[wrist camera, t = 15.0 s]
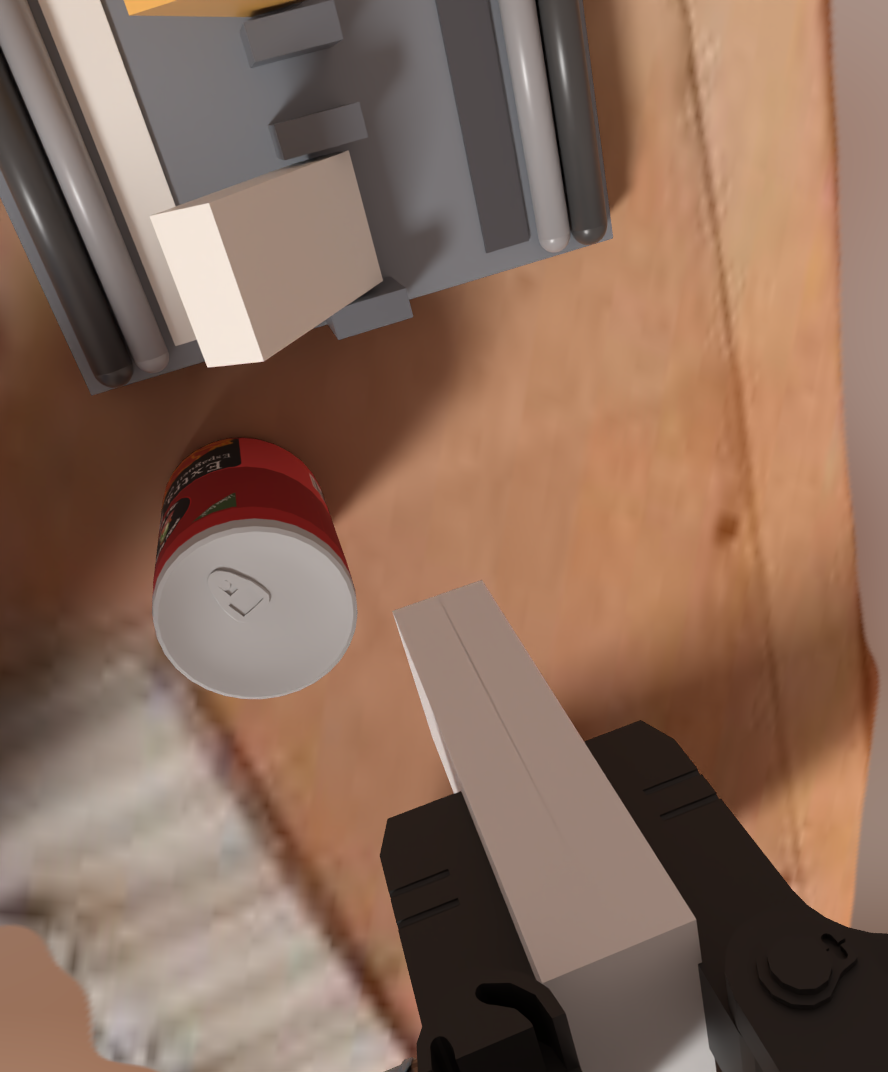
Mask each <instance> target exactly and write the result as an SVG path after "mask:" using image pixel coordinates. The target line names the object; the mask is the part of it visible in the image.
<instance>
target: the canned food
mask: <svg viewBox="0 0 888 1072" xmlns="http://www.w3.org/2000/svg"><path fill="white" fill-rule="evenodd" d="M152 615H153V622H154V626H155V631H156V635H157V639H158V641H159V643H160V645H161V647H162V649H163V651H164V653H165V655H166V656H167V657H168V659H169V660H170V661H171V662H172V664H173V665H174V666H175V668H176V669H178V670H179V671H180V672H181V673H182V674H183V675H185V676H186V677H187V678H188V679H189V680H191V681H193V682H194V683H196V684H198V685H200V686H202V687H203V688H205V689H207V690H210V691H213V692H216V693H218V694H221V695H224V696H230V697H236V698H241V699H266V698H273V697H280V696H283V695H287V694H290V693H293V692H296V691H299V690H301V689H303V688H305V687H307V686H309V685H311V684H313V683H315V682H316V681H318V680H319V679H320V678H322V677H323V676H324V675H326V674H327V673H328V672H330V670H331V669H332V668H333V667H334V666H335V665H336V664H337V663H338V662H339V661H340V660H341V658H342V657H343V655H344V653H345V652H346V650H347V648H348V647H349V645H350V643H351V640H352V637H353V634H354V632H355V628H356V620H357V603H356V593H355V588H354V585H353V582H352V577H351V574H350V571H349V568H348V565H347V562H346V559H345V556H344V553H343V551H342V548H341V545H340V542H339V539H338V536H337V534H336V531H335V528H334V525H333V522H332V519H331V517H330V514H329V511H328V508H327V505H326V502H325V500H324V497H323V494H322V491H321V488H320V486H319V484H318V482H317V480H316V479H315V477H314V475H313V474H312V472H311V471H310V470H309V469H308V468H307V467H306V465H305V464H304V463H303V462H302V461H301V460H299V459H298V458H297V457H295V456H294V455H293V454H292V453H290V452H289V451H287V450H285V449H283V448H281V447H279V446H277V445H275V444H272V443H269V442H265V441H262V440H259V439H251V438H229V439H224V440H220V441H216V442H213V443H210V444H208V445H206V446H204V447H202V448H200V449H198V450H196V451H195V452H194V453H192V454H191V455H190V456H188V457H187V458H186V459H184V460H183V461H182V463H181V464H180V465H179V466H178V467H177V469H176V470H175V471H174V472H173V474H172V476H171V478H170V480H169V482H168V484H167V486H166V490H165V494H164V498H163V503H162V512H161V521H160V529H159V538H158V547H157V555H156V564H155V573H154V581H153V600H152Z"/></svg>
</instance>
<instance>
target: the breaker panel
mask: <svg viewBox="0 0 888 1072" xmlns="http://www.w3.org/2000/svg"><path fill="white" fill-rule="evenodd" d="M348 150H349V153H350V157H351V161H352V165H353V169H354V172H355V176H356V180H357V184H358V188H359V191H360V195H361V199H362V203H363V207H364V210H365V214H366V218H367V222H368V226H369V229H370V233H371V237H372V241H373V245H374V248H375V252H376V256H377V260H378V264H379V267H380V271H381V275H382V279H383V281H382V282H381V283H379V284H378V285H376V286H375V287H373V288H372V289H370V290H369V291H367V292H366V293H364V294H363V295H361V296H360V297H358V298H357V299H355V300H354V301H353V302H351V303H350V304H348V305H347V306H345V307H344V308H342V309H341V310H339V311H338V312H336V313H335V314H333V315H332V316H330V317H329V318H327V319H326V320H325V321H323V322H322V323H320V324H319V325H317V326H316V327H314V328H317V327H321V326H324V325H327V324H328V325H329V327H330V328H331V330H332V331H333V333H334V334H335V336H336V337H337V339H338V340H340V339H344V338H347V337H350V336H353V335H357V334H360V333H363V332H367V331H370V330H373V329H376V328H380V327H383V326H386V325H390V324H393V323H396V322H399V321H403V320H406V319H409V318H413V314H412V310H411V306H410V302H409V300H410V299H413V298H417V297H420V296H423V295H427V294H430V293H433V292H437V291H440V290H443V289H447V288H450V287H453V286H457V285H460V284H463V283H467V282H470V281H473V280H476V279H480V278H483V277H486V276H490V275H493V274H496V273H500V272H503V271H506V270H510V269H513V268H516V267H520V266H523V265H526V264H530V263H533V262H536V261H539V260H543V259H546V258H549V257H553V256H556V255H559V254H563V253H566V252H569V251H573V250H576V249H579V248H583V247H586V246H589V245H593V244H596V243H599V242H602V241H606V240H609V239H612V238H613V234H612V226H611V218H610V210H609V202H608V195H607V187H606V179H605V171H604V163H603V156H602V148H601V140H600V132H599V124H598V117H597V109H596V101H595V93H594V85H593V78H592V70H591V62H590V54H589V46H588V39H587V31H586V23H585V15H584V8H583V0H306V1H303V3H302V4H300V5H297V6H295V7H292V8H288V9H285V10H281V11H277V12H273V13H268V14H260V15H257V16H254V17H198V16H129V14H128V11H127V8H126V5H125V2H124V0H0V198H1V200H2V202H3V205H4V207H5V209H6V211H7V213H8V215H9V218H10V220H11V222H12V224H13V226H14V228H15V231H16V233H17V235H18V237H19V239H20V241H21V244H22V246H23V248H24V250H25V252H26V254H27V257H28V259H29V261H30V263H31V265H32V267H33V270H34V272H35V274H36V276H37V278H38V280H39V283H40V285H41V287H42V289H43V291H44V293H45V296H46V298H47V300H48V302H49V304H50V306H51V309H52V311H53V313H54V315H55V317H56V320H57V322H58V324H59V326H60V328H61V330H62V333H63V335H64V337H65V339H66V341H67V343H68V346H69V348H70V350H71V352H72V354H73V356H74V359H75V361H76V363H77V365H78V367H79V369H80V372H81V374H82V376H83V378H84V380H85V382H86V385H87V387H88V389H89V391H90V393H91V395H95V394H98V393H102V392H105V391H108V390H112V389H115V388H118V387H122V386H125V385H128V384H132V383H135V382H138V381H141V380H145V379H148V378H151V377H155V376H158V375H161V374H165V373H168V372H171V371H175V370H178V369H181V368H185V367H188V366H191V365H195V364H198V363H201V362H205V360H204V357H203V354H202V352H201V349H200V347H199V344H198V341H197V339H196V336H195V334H194V331H193V328H192V326H191V323H190V321H189V318H188V315H187V313H186V310H185V307H184V305H183V302H182V300H181V297H180V294H179V292H178V289H177V287H176V284H175V281H174V279H173V276H172V274H171V271H170V268H169V266H168V263H167V260H166V258H165V255H164V253H163V250H162V247H161V245H160V242H159V240H158V237H157V234H156V232H155V229H154V227H153V224H152V221H151V219H150V216H151V215H154V214H156V213H159V212H162V211H165V210H167V209H170V208H173V207H176V206H178V205H181V204H184V203H187V202H189V201H192V200H195V199H198V198H200V197H203V196H206V195H209V194H211V193H214V192H217V191H220V190H222V189H225V188H228V187H231V186H234V185H236V184H239V183H242V182H245V181H247V180H250V179H253V178H256V177H258V176H261V175H264V174H267V173H269V172H272V171H275V170H278V169H280V168H283V167H286V166H289V165H291V164H294V163H297V162H301V161H305V160H308V159H311V158H315V157H318V156H322V155H326V154H330V153H334V152H339V151H343V152H344V151H348ZM314 328H313V329H314Z"/></svg>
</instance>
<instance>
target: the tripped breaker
mask: <svg viewBox="0 0 888 1072" xmlns="http://www.w3.org/2000/svg"><path fill="white" fill-rule="evenodd" d="M303 1H306V0H124V2H125V5H126V8H127V11H128V14H129V16H198V17H254V16H257V15H260V14H268V13H273V12H277V11H281V10H285V9H288V8H292V7H295V6H297V5H300V4H302V3H303Z"/></svg>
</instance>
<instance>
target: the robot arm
mask: <svg viewBox="0 0 888 1072" xmlns="http://www.w3.org/2000/svg"><path fill="white" fill-rule="evenodd" d="M393 615H394V618H395V621H396V624H397V627H398V630H399V633H400V637H401V640H402V643H403V646H404V649H405V652H406V655H407V659H408V662H409V665H410V668H411V671H412V674H413V677H414V681H415V684H416V687H417V690H418V693H419V696H420V699H421V703H422V706H423V709H424V712H425V715H426V718H427V721H428V725H429V728H430V731H431V734H432V737H433V740H434V743H435V745H436V748H437V750H438V753H439V756H440V758H441V761H442V763H443V766H444V769H445V771H446V774H447V776H448V779H449V782H450V784H451V787H452V789H453V792H454V794H452V795H449V796H447V797H444V798H441V799H439V800H436V801H433V802H431V803H428V804H426V805H423V806H420V807H418V808H415V809H412V810H410V811H407V812H404V813H402V814H399V815H397V816H394V817H391V818H389V819H388V820H387V824H386V829H385V834H384V838H383V843H382V848H381V853H380V858H381V863H382V867H383V871H384V875H385V879H386V883H387V887H388V891H389V894H390V897H391V903H392V907H393V911H394V915H395V919H396V923H397V926H398V929H399V930H398V931H399V935H400V939H401V943H402V947H403V951H404V955H405V959H406V963H407V967H408V971H409V975H410V979H411V983H412V987H413V991H414V995H415V999H416V1003H417V1007H418V1011H419V1015H420V1019H421V1023H422V1029H421V1032H420V1035H419V1038H418V1041H417V1059H415V1058H413V1057H411V1058H407V1059H405V1060H404V1061H403V1062H402V1064H401V1065H399V1066H397V1067H394V1068H392V1069H390V1070H387V1071H385V1072H888V934H882V933H869V932H865V931H861V930H857V929H852V928H848V927H846V926H844V925H841V924H839V923H837V922H834V921H832V920H830V919H828V918H826V917H824V916H823V915H821V914H820V913H818V912H817V911H815V910H814V909H812V908H811V907H809V906H808V905H807V904H806V903H805V902H804V901H803V900H802V899H801V898H800V897H799V896H798V895H797V894H796V893H795V892H794V891H793V890H792V889H791V887H790V886H789V885H788V884H787V882H786V881H785V880H784V879H783V877H782V876H781V875H780V873H779V872H778V871H777V870H776V868H775V867H774V866H773V865H772V863H771V862H770V861H769V859H768V858H767V857H766V856H765V854H764V853H763V852H762V850H761V849H760V848H759V847H758V845H757V844H756V843H755V842H754V840H753V839H752V838H751V836H750V835H749V834H748V833H747V831H746V830H745V829H744V828H743V826H742V825H741V824H740V822H739V821H738V820H737V819H736V817H735V816H734V815H733V813H732V812H731V811H730V810H729V808H728V807H727V806H726V805H725V803H724V802H723V801H722V799H719V798H718V797H717V794H716V792H715V791H714V789H713V788H712V787H711V785H710V784H709V783H708V782H707V780H706V779H705V778H704V776H703V775H702V774H701V775H700V774H699V772H698V769H697V768H696V766H695V765H694V764H693V762H692V761H691V760H690V759H689V757H688V756H687V755H686V754H685V752H684V751H683V750H682V748H681V747H680V746H679V745H678V743H677V742H676V741H675V740H674V739H673V738H671V737H669V736H667V735H666V734H664V733H662V732H660V731H659V730H657V729H655V728H653V727H652V726H650V725H648V724H647V723H645V722H643V721H641V720H640V721H637V722H635V723H632V724H629V725H627V726H624V727H622V728H619V729H616V730H614V731H611V732H608V733H606V734H603V735H601V736H598V737H595V738H593V739H590V740H587V741H585V742H584V741H583V739H582V738H581V736H580V735H579V733H578V731H577V730H576V728H575V727H574V725H573V724H572V722H571V720H570V719H569V717H568V716H567V714H566V712H565V711H564V709H563V708H562V706H561V705H560V703H559V701H558V700H557V698H556V697H555V695H554V693H553V692H552V690H551V689H550V687H549V686H548V684H547V682H546V681H545V679H544V678H543V676H542V674H541V673H540V671H539V670H538V668H537V667H536V665H535V663H534V662H533V660H532V659H531V657H530V655H529V654H528V652H527V651H526V649H525V648H524V646H523V644H522V643H521V641H520V640H519V638H518V636H517V635H516V633H515V632H514V630H513V629H512V627H511V625H510V624H509V622H508V621H507V619H506V617H505V616H504V614H503V613H502V611H501V610H500V608H499V606H498V605H497V603H496V602H495V600H494V598H493V597H492V595H491V594H490V592H489V591H488V589H487V587H486V586H485V584H484V583H483V581H482V580H480V581H477V582H474V583H472V584H469V585H466V586H463V587H460V588H457V589H454V590H451V591H449V592H446V593H443V594H440V595H437V596H434V597H431V598H428V599H426V600H423V601H420V602H417V603H414V604H411V605H408V606H406V607H403V608H400V609H397V610H394V611H393Z"/></svg>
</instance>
